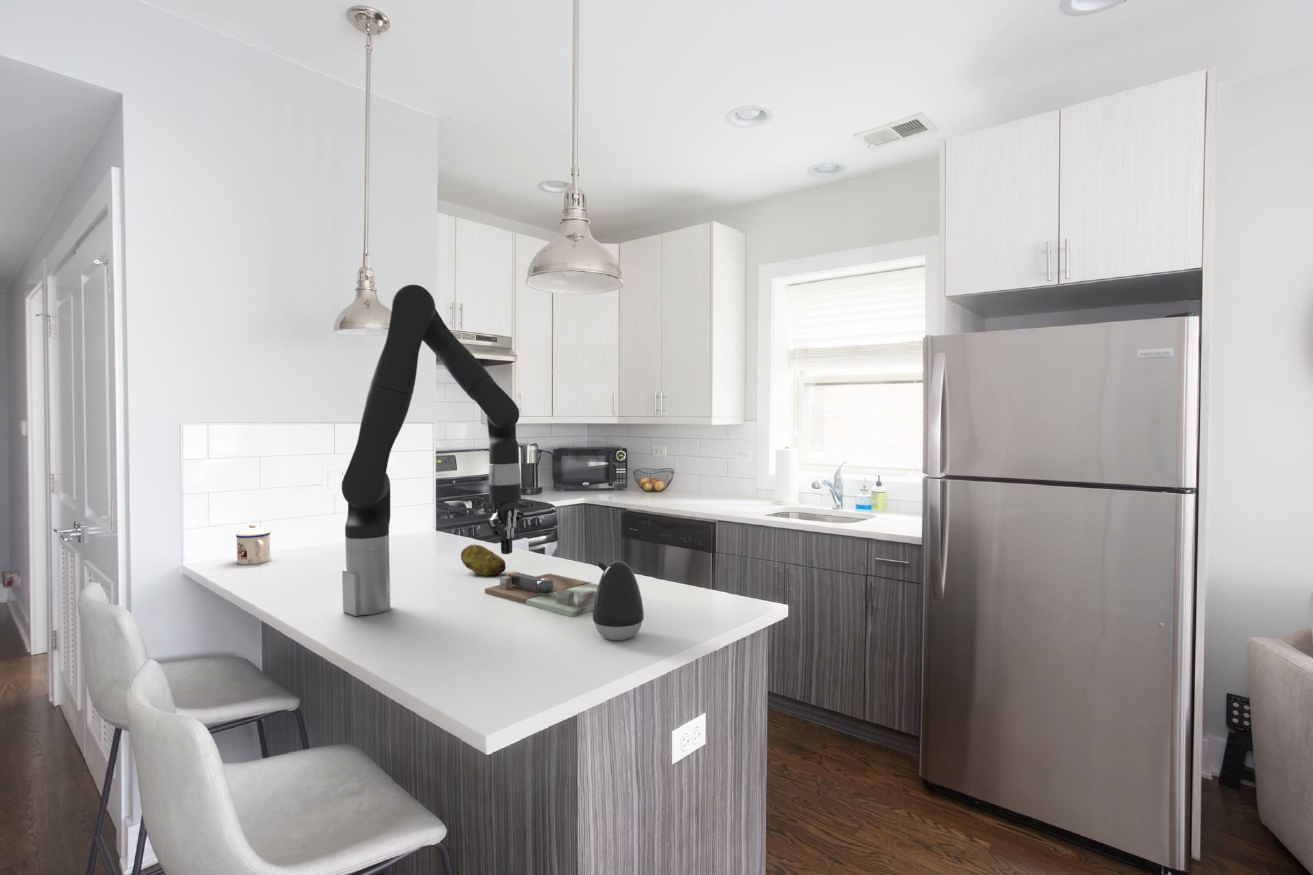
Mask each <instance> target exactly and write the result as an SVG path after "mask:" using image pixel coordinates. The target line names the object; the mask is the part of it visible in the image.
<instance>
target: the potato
mask: <svg viewBox="0 0 1313 875" xmlns="http://www.w3.org/2000/svg"><path fill="white" fill-rule="evenodd" d="M460 560H461V562H462V564H463V565H464V566H465V567H466V568H467V569H469V570H470V571H472V572H473V573H474V574H476V575H479V576H484V577H489V576H490V577H491V576H495V575H496V576H498V575H500V574H502V573H503V572H504V571H506V569H507V568H506V567H507V565H506V561H505V559H503V558H502V557H501V556H499V555H498V554H496V553H494V552H493V551H491V550H490V549H488V548H486V547H485V546H482V545H479V544H470V545H468V546H466V547H464V548H463V549H462V551H461V552H460Z"/></svg>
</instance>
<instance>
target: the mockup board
mask: <svg viewBox="0 0 1313 875" xmlns="http://www.w3.org/2000/svg"><path fill="white" fill-rule="evenodd" d="M535 577H540V578H548V579H553V583H554V591H553V592H550V593H538V592H537V591H535V590H531V589H527V588H523V587H520V586H516V585H512V577H508V576H507V575H504V576H499V585H494V586H490V587H489V586H488V587H486V588H484V593H485V594H486V595H490V596H495V597H497V598H501V599H505V600H508V601H513V602H515V603H519V604H523V605H525V606H526V605H527V606H530V607H533V608H537V609H541V610H545V611H548V612H553V613H555V614H559V615H563V616H566V617H569V618H574V617H576V616H580V615H584V614H586V613H590V612H593V608H594V601H595V596H596V592H597V588H598V585H599V583H595V582H591V581H585V580H581V579H575V578H571V577H567V576H562V575H560V574H559V575H558V574H554V573H550V572H549V573H546V574H541V575H537V576H536V575H535Z"/></svg>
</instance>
